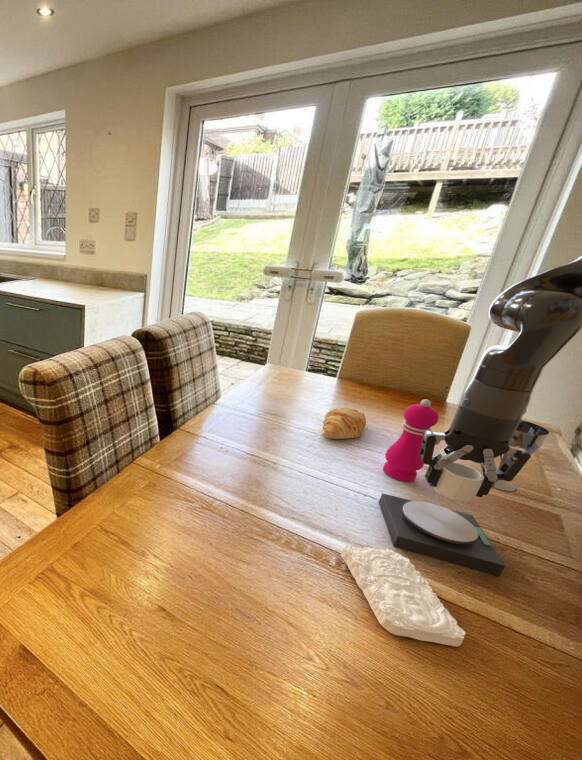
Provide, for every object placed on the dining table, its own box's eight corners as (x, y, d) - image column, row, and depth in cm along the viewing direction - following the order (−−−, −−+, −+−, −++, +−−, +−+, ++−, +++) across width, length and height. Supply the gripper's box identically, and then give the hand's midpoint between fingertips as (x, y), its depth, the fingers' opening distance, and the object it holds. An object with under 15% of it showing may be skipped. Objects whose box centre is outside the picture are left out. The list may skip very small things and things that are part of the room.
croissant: (330, 455, 109) (352, 439, 103) (302, 427, 114) (321, 410, 108) (365, 433, 120) (386, 417, 114) (338, 408, 125) (357, 392, 119)
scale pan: (464, 513, 78) (465, 511, 78) (488, 552, 69) (489, 549, 69) (396, 497, 82) (397, 494, 82) (410, 531, 73) (411, 529, 73)
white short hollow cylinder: (465, 488, 74) (476, 466, 72) (478, 507, 69) (490, 484, 68) (426, 479, 77) (436, 458, 75) (436, 497, 72) (446, 474, 70)
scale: (467, 524, 80) (473, 513, 79) (499, 576, 68) (506, 564, 67) (378, 502, 86) (382, 491, 85) (393, 546, 74) (398, 534, 73)
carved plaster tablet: (401, 561, 71) (407, 548, 70) (466, 650, 56) (475, 634, 55) (336, 552, 72) (341, 539, 71) (383, 636, 58) (390, 621, 57)
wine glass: (516, 496, 88) (548, 438, 82) (469, 479, 94) (495, 424, 88) (520, 483, 93) (550, 427, 87) (474, 467, 99) (500, 414, 93)
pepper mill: (388, 480, 93) (417, 404, 86) (374, 463, 100) (400, 391, 92) (424, 485, 92) (456, 408, 84) (407, 467, 98) (436, 394, 91)
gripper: (537, 408, 67) (495, 489, 73) (430, 391, 72) (400, 468, 79) (563, 427, 60) (515, 514, 67) (444, 407, 66) (410, 489, 73)
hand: (453, 488), depth 73 cm, fingers closed on white short hollow cylinder, 6 cm apart
